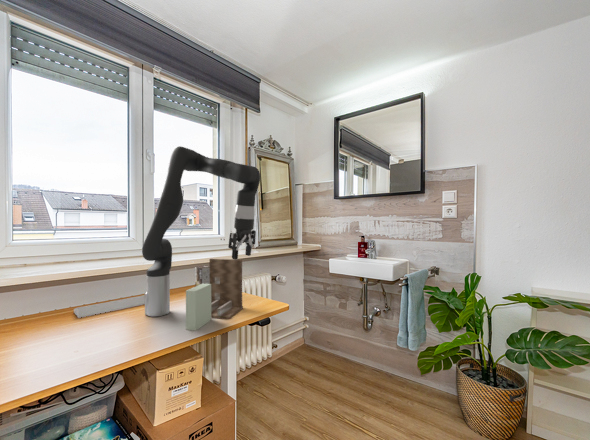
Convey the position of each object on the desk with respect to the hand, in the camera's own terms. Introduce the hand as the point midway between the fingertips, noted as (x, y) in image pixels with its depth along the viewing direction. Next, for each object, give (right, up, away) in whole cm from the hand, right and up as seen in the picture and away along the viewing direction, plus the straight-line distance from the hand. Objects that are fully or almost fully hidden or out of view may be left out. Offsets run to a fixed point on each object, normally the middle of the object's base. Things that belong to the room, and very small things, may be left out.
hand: (241, 257), depth 113 cm
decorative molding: (-63, -28, +24) cm, 73 cm away
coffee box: (-29, -27, +42) cm, 58 cm away
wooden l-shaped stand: (-13, -27, +16) cm, 34 cm away
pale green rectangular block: (-17, -27, +1) cm, 32 cm away
